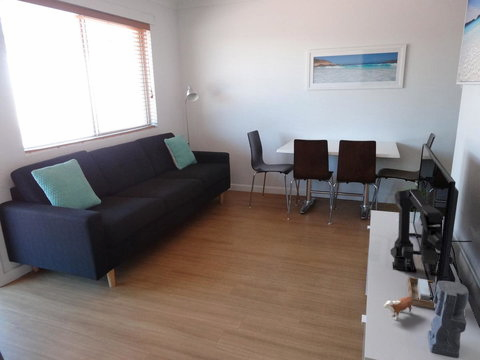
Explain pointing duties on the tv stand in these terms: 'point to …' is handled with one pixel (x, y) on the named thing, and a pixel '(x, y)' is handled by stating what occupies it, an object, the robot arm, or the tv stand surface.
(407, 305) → the bull figurine
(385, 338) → the tv stand surface
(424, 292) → the long pale blue block
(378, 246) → the tv stand surface
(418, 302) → the open brown box
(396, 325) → the tv stand surface
